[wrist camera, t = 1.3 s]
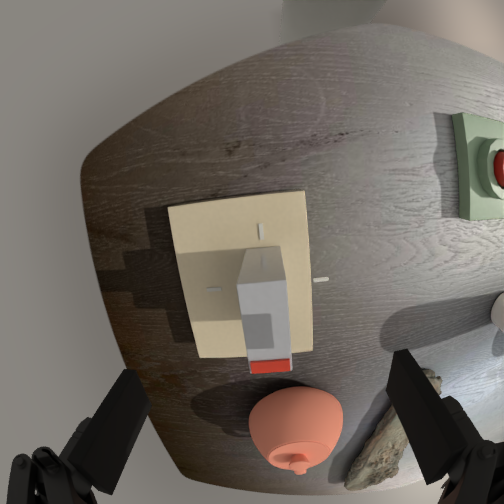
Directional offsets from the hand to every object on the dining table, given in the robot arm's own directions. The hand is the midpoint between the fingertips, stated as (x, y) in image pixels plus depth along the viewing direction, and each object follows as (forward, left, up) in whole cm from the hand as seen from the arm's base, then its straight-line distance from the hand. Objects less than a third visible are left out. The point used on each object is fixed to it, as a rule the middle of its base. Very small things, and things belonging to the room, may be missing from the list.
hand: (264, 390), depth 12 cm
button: (-10, +28, -13) cm, 32 cm away
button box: (-10, +28, -16) cm, 34 cm away
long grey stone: (+34, +18, -17) cm, 42 cm away
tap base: (0, -2, -16) cm, 16 cm away
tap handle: (0, 0, -13) cm, 13 cm away
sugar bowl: (+21, +2, -17) cm, 27 cm away
